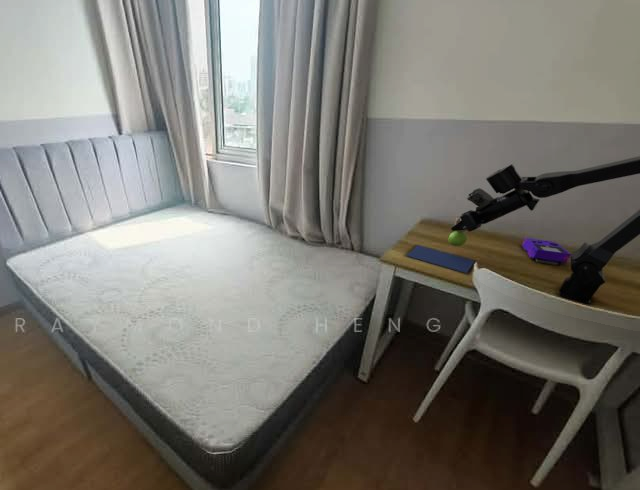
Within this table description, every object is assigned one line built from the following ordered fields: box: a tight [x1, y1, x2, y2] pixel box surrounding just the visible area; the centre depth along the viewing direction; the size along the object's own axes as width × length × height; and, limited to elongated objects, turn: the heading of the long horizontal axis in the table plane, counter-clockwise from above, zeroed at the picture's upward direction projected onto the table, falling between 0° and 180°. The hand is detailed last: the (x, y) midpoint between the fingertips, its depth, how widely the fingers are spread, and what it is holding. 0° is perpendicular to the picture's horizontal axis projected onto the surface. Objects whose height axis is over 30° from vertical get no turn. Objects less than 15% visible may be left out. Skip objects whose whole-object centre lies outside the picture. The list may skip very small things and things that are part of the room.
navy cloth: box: [406, 245, 476, 275], centre depth 116 cm, size 20×12×1 cm, turn 46°
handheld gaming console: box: [522, 237, 572, 266], centre depth 115 cm, size 9×5×15 cm
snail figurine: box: [447, 214, 468, 247], centre depth 109 cm, size 5×6×12 cm
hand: (456, 227), depth 109 cm, fingers closed on snail figurine, 5 cm apart
